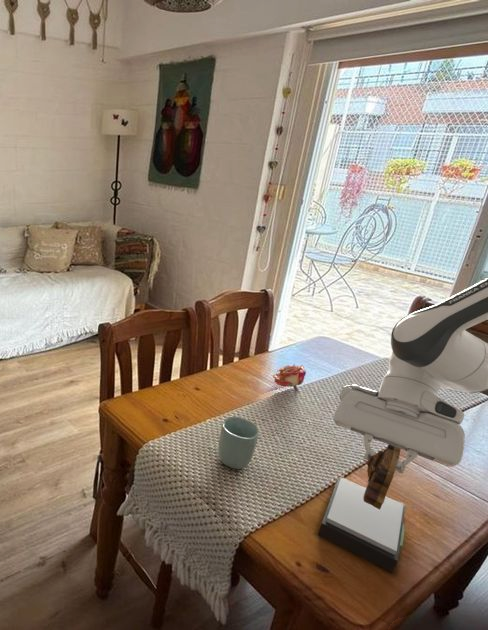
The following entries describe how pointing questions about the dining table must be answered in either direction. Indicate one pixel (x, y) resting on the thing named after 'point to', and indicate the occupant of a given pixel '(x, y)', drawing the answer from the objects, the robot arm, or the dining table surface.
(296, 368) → the flower
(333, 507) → the kitchen scale
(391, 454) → the wooden carving
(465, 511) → the dining table surface
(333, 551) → the dining table surface
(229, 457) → the cup
